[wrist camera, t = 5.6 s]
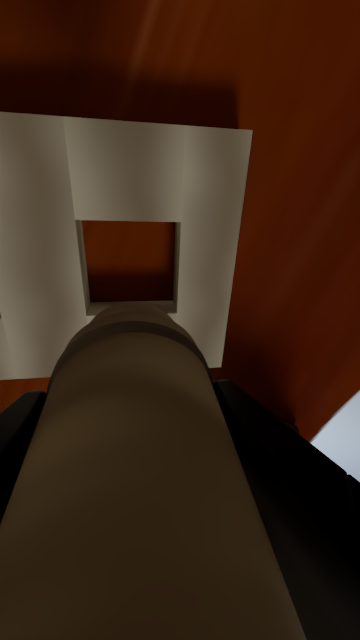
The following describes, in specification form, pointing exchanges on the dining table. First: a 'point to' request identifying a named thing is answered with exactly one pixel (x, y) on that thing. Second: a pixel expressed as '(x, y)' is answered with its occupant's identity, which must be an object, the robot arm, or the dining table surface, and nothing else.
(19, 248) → the birch board
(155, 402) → the oak peg
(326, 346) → the dining table surface
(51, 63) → the dining table surface
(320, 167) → the dining table surface
